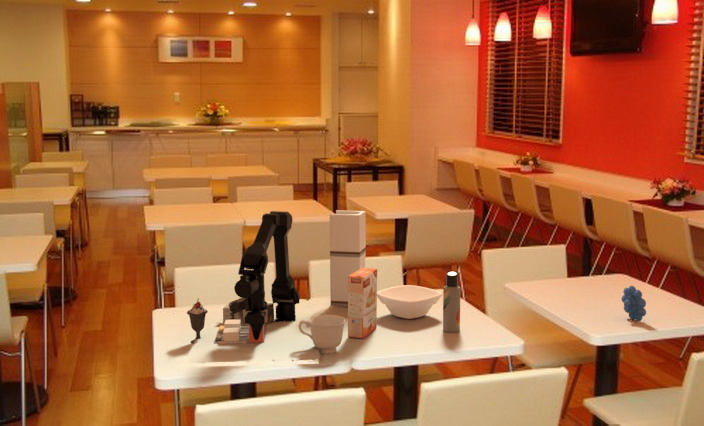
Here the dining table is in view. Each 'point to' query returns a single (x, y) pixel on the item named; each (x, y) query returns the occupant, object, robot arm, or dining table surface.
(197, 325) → the sundae
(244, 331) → the panel
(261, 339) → the orange rectangular prism
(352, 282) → the cracker box
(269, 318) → the coffee box
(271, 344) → the dining table surface
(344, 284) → the white banded column
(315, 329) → the teacup
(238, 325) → the block
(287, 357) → the dining table surface
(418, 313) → the bowl
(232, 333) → the block
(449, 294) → the lotion bottle
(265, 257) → the robot arm
